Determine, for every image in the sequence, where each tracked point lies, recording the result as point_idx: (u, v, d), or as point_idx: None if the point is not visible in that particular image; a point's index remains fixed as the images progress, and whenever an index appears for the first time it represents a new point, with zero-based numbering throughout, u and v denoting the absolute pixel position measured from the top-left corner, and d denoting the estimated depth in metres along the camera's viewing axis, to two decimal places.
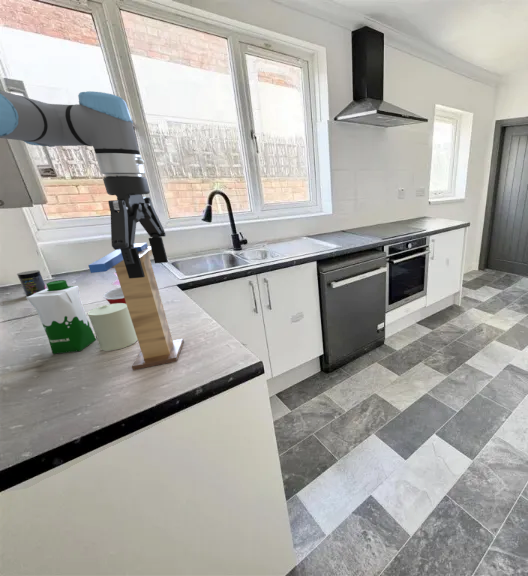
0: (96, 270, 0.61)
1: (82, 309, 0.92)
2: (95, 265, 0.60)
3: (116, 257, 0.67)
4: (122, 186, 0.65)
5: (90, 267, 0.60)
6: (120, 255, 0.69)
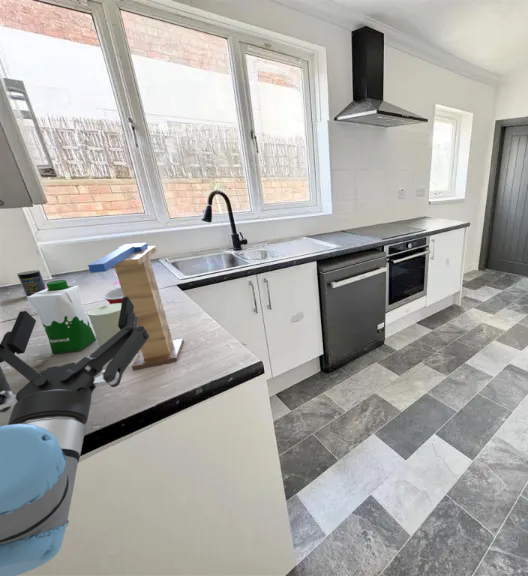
0: (96, 270, 0.61)
1: (82, 309, 0.92)
2: (95, 265, 0.60)
3: (116, 257, 0.67)
4: None
5: (90, 267, 0.60)
6: (120, 255, 0.69)
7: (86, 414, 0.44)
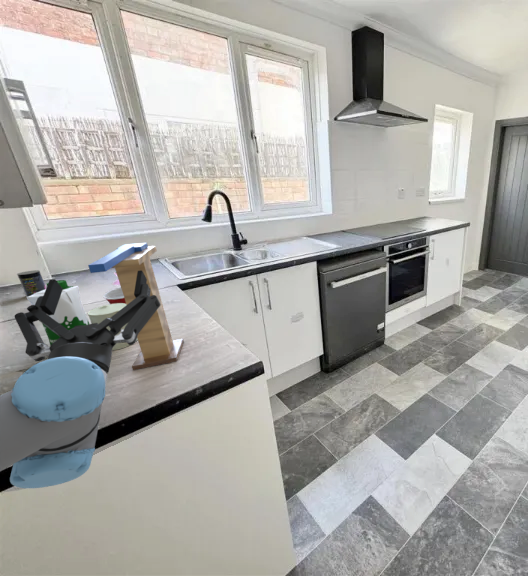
0: (96, 270, 0.61)
1: (82, 309, 0.92)
2: (95, 265, 0.60)
3: (116, 257, 0.67)
4: None
5: (90, 267, 0.60)
6: (120, 255, 0.69)
7: (108, 365, 0.51)
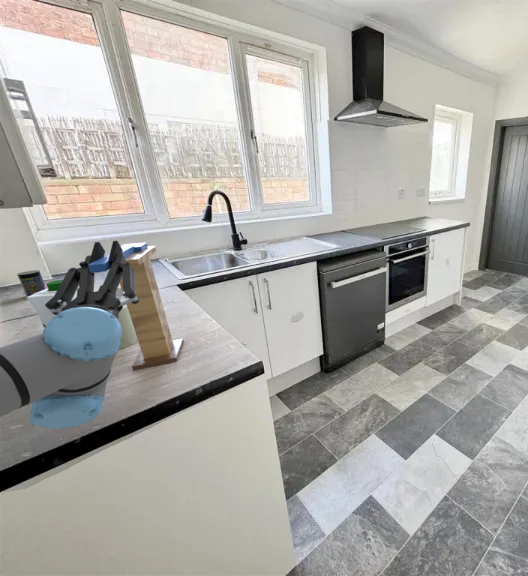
0: (96, 270, 0.61)
1: None
2: (95, 265, 0.60)
3: None
4: None
5: (90, 267, 0.60)
6: None
7: None
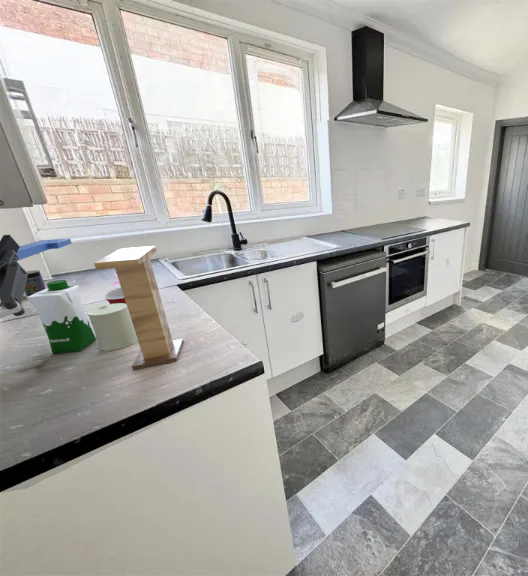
0: None
1: (82, 309, 0.92)
2: None
3: None
4: None
5: None
6: (17, 253, 0.55)
7: None
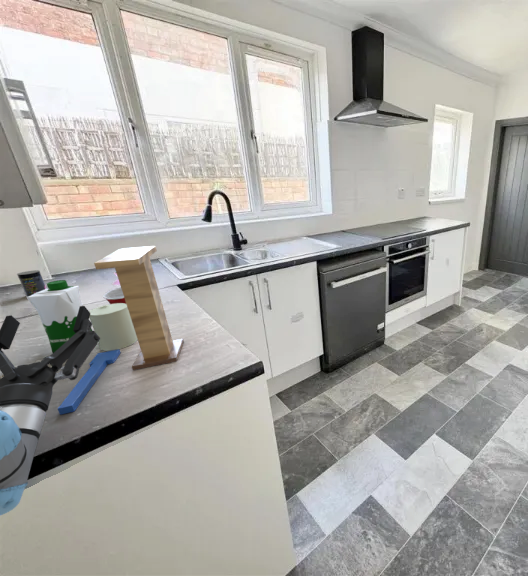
0: (65, 412, 0.66)
1: None
2: (64, 408, 0.66)
3: (86, 387, 0.72)
4: None
5: (59, 410, 0.65)
6: (90, 382, 0.74)
7: (47, 403, 0.56)
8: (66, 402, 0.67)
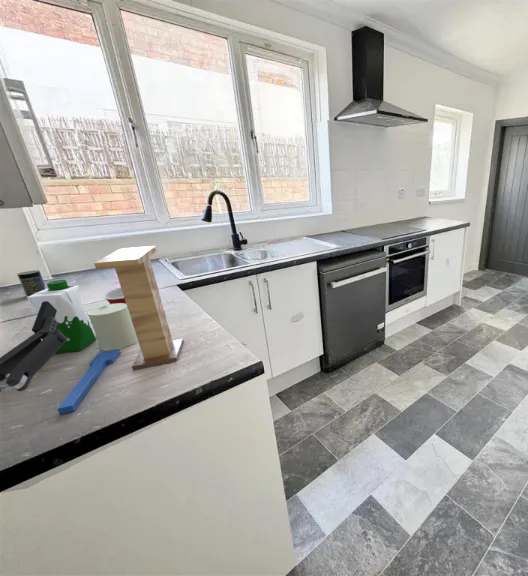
0: (65, 412, 0.66)
1: (82, 309, 0.92)
2: (64, 408, 0.66)
3: (86, 387, 0.72)
4: None
5: (59, 410, 0.65)
6: (90, 382, 0.74)
7: None
8: (66, 402, 0.67)
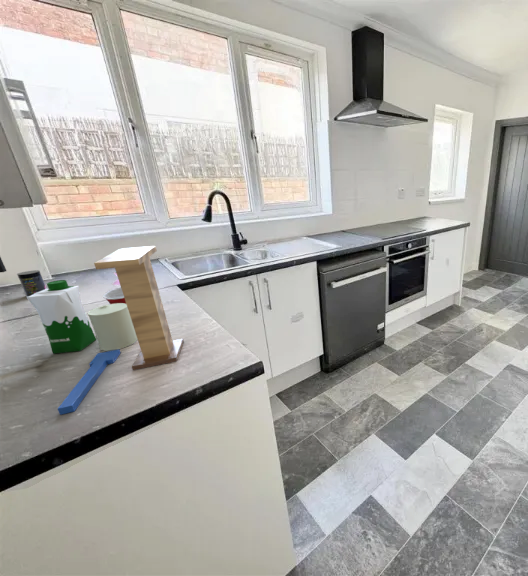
0: (65, 412, 0.66)
1: (82, 309, 0.92)
2: (64, 408, 0.66)
3: (86, 387, 0.72)
4: None
5: (59, 410, 0.65)
6: (90, 382, 0.74)
7: None
8: (66, 402, 0.67)
